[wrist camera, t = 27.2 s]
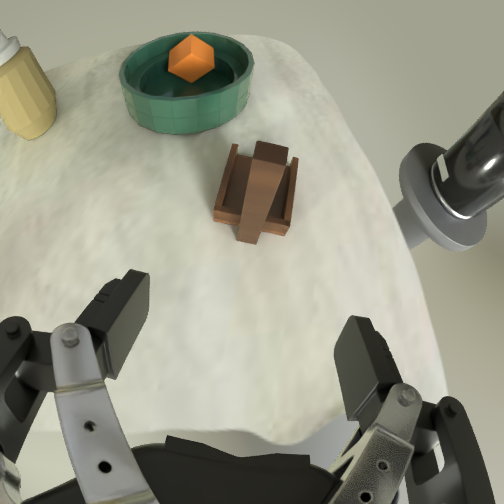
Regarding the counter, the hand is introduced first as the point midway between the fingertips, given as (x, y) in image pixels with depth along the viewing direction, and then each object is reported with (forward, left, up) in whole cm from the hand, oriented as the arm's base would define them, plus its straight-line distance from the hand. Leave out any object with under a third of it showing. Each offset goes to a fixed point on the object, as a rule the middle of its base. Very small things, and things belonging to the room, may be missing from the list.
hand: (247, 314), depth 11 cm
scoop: (0, -13, -13) cm, 19 cm away
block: (+11, -27, -10) cm, 31 cm away
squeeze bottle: (+31, -19, -13) cm, 39 cm away
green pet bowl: (+11, -26, -13) cm, 31 cm away
